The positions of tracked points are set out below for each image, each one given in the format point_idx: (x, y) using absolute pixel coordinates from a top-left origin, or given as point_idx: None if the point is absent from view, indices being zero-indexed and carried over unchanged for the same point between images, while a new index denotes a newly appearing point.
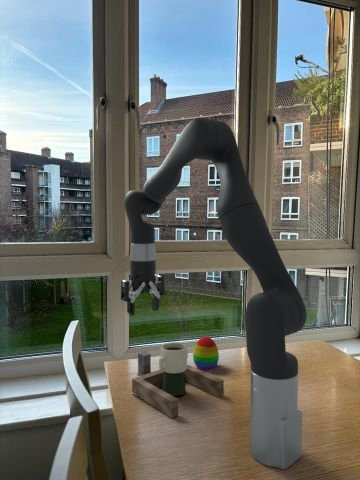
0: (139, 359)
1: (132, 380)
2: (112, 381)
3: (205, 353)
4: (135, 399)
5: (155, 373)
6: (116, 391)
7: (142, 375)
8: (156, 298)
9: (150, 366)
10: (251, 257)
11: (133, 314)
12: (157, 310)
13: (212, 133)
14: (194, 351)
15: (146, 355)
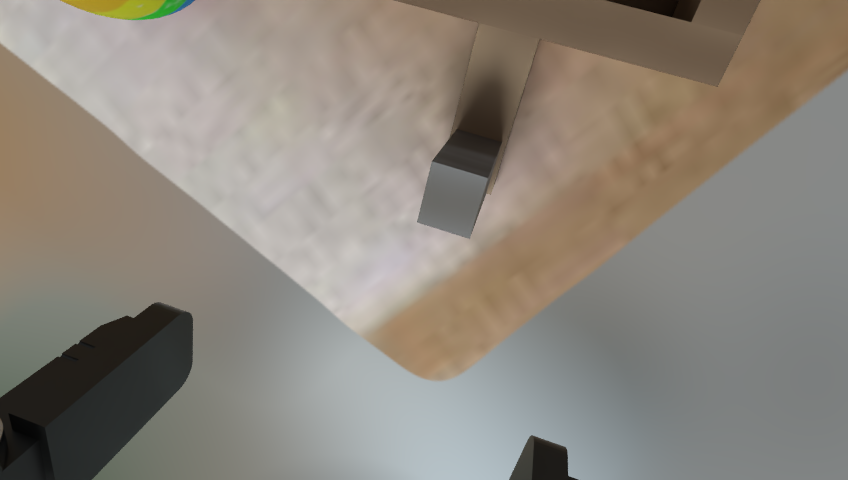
0: (479, 208)
1: (717, 80)
2: (604, 257)
3: None
4: None
5: (560, 10)
6: (700, 169)
7: (503, 150)
8: (23, 437)
9: (449, 139)
10: None
11: (550, 446)
12: (164, 306)
13: None
14: None
15: (465, 169)
